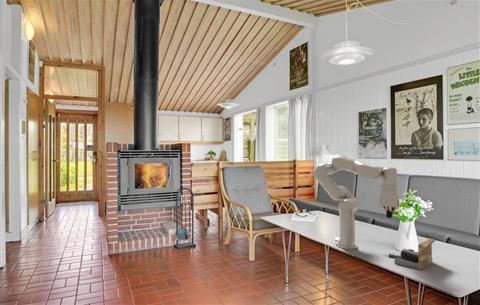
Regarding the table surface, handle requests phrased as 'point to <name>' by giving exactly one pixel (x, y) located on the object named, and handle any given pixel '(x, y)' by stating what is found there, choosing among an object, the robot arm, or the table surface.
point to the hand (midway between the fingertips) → (389, 217)
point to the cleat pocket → (406, 263)
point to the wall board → (425, 253)
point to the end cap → (409, 255)
